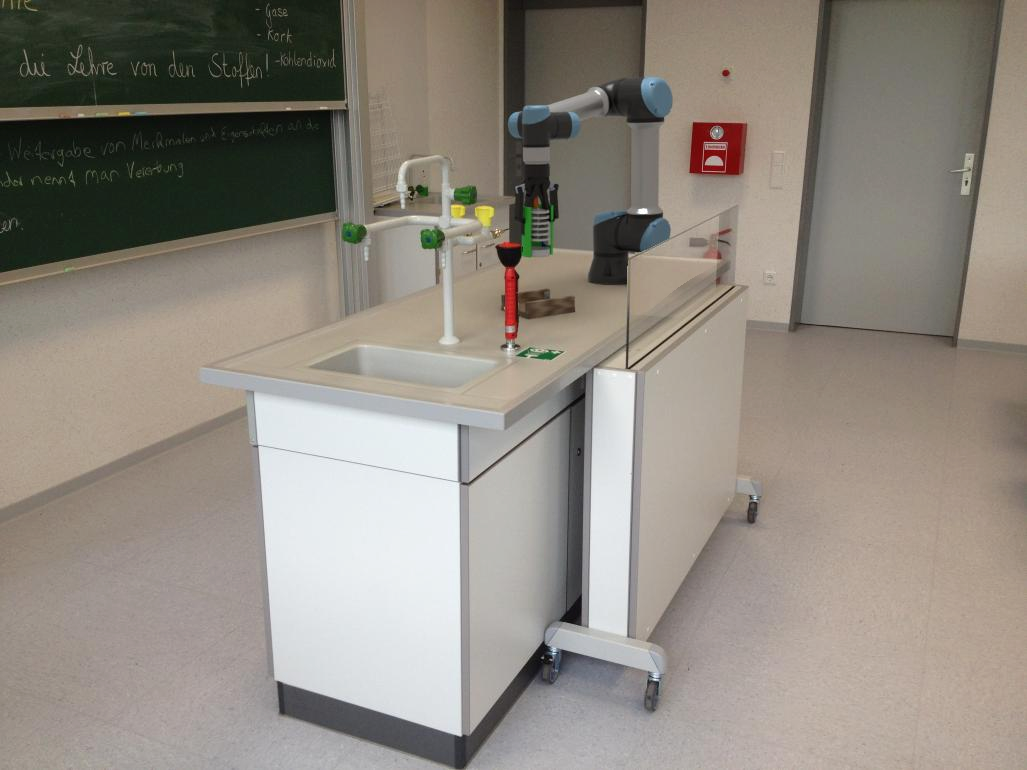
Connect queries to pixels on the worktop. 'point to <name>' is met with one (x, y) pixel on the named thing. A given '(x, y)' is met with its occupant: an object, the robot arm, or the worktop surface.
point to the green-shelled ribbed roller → (536, 231)
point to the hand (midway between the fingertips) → (537, 245)
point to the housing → (542, 304)
